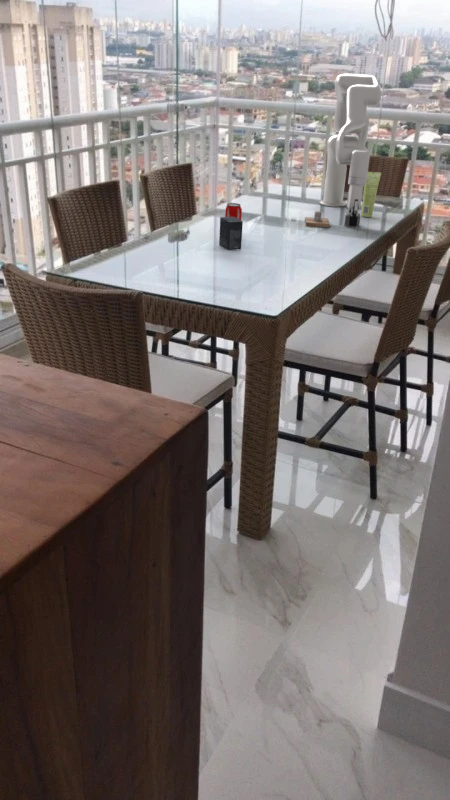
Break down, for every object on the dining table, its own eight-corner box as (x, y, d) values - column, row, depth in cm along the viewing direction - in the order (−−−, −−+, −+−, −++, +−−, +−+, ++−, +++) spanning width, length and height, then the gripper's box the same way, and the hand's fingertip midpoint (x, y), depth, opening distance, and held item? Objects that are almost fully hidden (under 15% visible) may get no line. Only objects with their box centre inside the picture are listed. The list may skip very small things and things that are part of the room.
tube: (366, 214, 322) (372, 170, 313) (375, 216, 319) (381, 172, 310) (358, 215, 319) (364, 171, 310) (367, 218, 316) (373, 173, 307)
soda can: (242, 234, 279) (244, 204, 273) (236, 238, 273) (238, 207, 268) (228, 232, 281) (229, 202, 275) (221, 235, 276) (223, 204, 270)
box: (241, 249, 259) (243, 220, 254) (227, 250, 257) (229, 221, 252) (232, 244, 265) (233, 216, 261) (218, 245, 263) (219, 216, 258)
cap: (343, 223, 304) (345, 211, 302) (358, 224, 304) (359, 212, 302) (345, 226, 299) (346, 214, 296) (359, 227, 298) (361, 215, 296)
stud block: (304, 220, 305) (305, 208, 303) (327, 221, 305) (329, 210, 303) (305, 226, 297) (306, 213, 294) (329, 227, 296) (330, 215, 294)
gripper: (346, 176, 300) (341, 218, 309) (350, 184, 285) (344, 228, 293) (363, 177, 300) (358, 219, 308) (368, 185, 285) (362, 229, 293)
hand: (351, 223), depth 301 cm, fingers closed on cap, 6 cm apart
